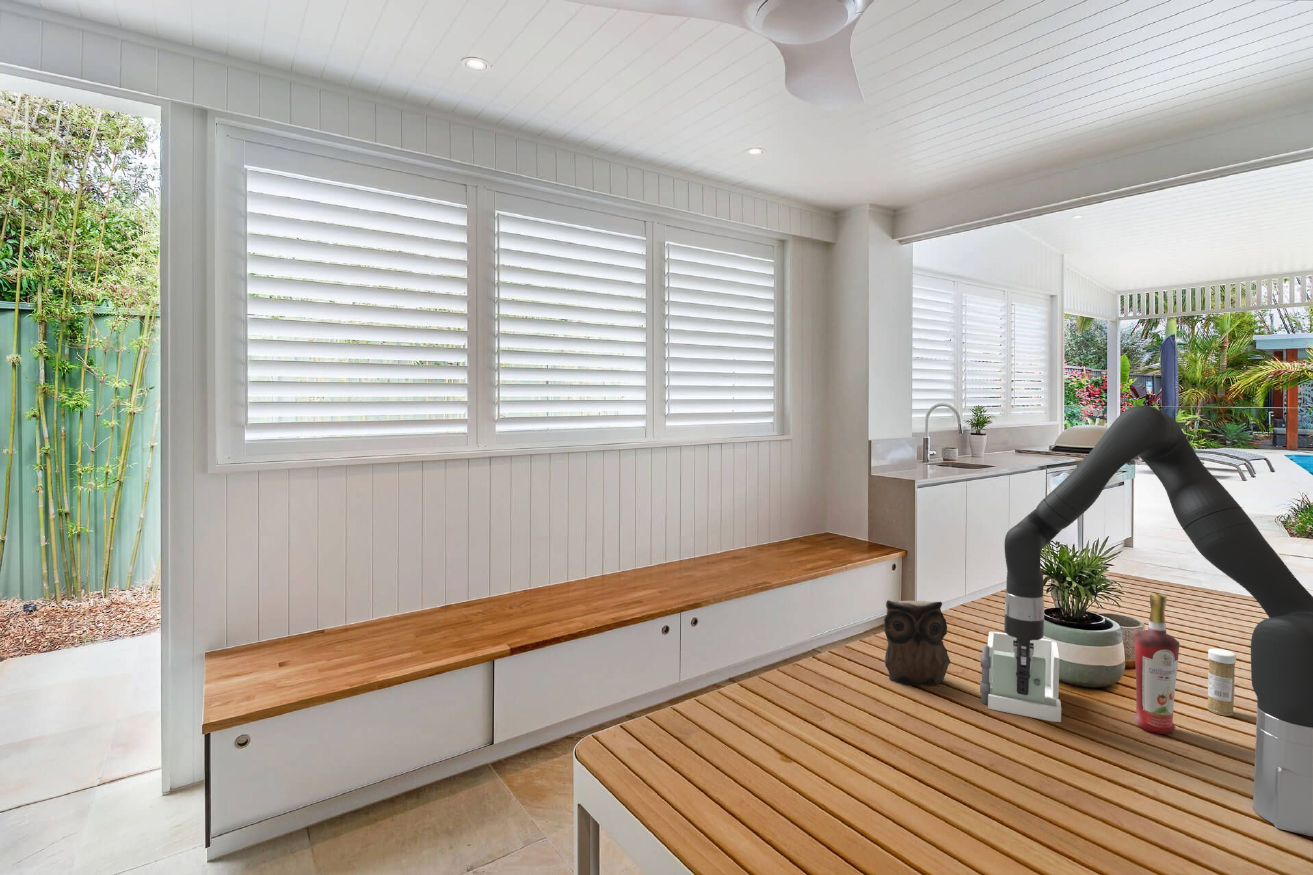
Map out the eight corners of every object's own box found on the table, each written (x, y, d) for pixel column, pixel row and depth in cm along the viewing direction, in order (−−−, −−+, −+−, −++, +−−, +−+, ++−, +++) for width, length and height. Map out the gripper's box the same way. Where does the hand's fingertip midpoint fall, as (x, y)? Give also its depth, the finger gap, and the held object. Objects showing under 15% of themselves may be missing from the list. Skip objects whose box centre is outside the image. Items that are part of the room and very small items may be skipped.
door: (1044, 718, 138) (1045, 663, 138) (992, 708, 143) (993, 655, 143) (1043, 711, 141) (1045, 658, 141) (992, 701, 146) (993, 650, 146)
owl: (952, 682, 157) (953, 601, 156) (918, 694, 150) (919, 610, 149) (907, 665, 167) (908, 588, 166) (874, 675, 161) (875, 596, 160)
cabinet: (1061, 723, 136) (1062, 662, 136) (979, 706, 144) (980, 649, 143) (1056, 691, 152) (1057, 636, 151) (982, 677, 159) (983, 625, 159)
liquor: (1165, 722, 137) (1170, 591, 135) (1183, 739, 130) (1188, 602, 128) (1125, 717, 139) (1129, 589, 137) (1141, 734, 132) (1145, 599, 130)
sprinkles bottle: (1237, 713, 141) (1239, 652, 140) (1229, 718, 138) (1232, 657, 137) (1210, 705, 144) (1212, 646, 144) (1202, 710, 142) (1205, 650, 141)
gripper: (1045, 626, 133) (1043, 707, 134) (1042, 607, 146) (1041, 682, 146) (1004, 620, 137) (1002, 700, 138) (1005, 602, 149) (1003, 676, 150)
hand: (1022, 690), depth 142 cm, fingers closed on door, 2 cm apart
